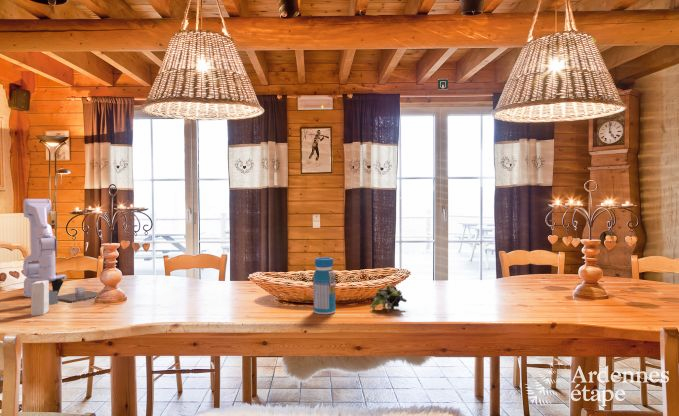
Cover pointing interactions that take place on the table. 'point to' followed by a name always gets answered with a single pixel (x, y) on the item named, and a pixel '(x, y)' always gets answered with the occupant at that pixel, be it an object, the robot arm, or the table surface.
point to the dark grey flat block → (78, 295)
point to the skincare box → (39, 298)
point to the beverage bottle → (324, 286)
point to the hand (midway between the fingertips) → (47, 299)
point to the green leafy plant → (388, 297)
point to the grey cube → (53, 297)
